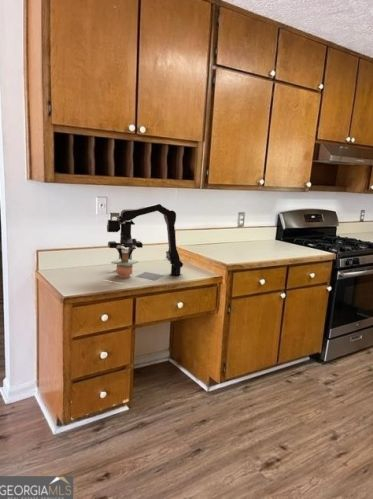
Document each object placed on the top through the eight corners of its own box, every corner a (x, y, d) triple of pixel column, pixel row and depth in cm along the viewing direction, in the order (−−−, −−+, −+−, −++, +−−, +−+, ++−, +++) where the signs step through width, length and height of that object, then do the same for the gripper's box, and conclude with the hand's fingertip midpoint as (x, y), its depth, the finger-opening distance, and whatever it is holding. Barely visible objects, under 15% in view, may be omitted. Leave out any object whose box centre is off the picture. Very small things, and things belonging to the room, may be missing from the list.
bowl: (121, 274, 221) (121, 262, 220) (134, 276, 218) (135, 264, 217) (113, 277, 213) (113, 265, 212) (126, 280, 210) (127, 268, 208)
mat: (145, 272, 228) (145, 271, 228) (164, 276, 223) (164, 275, 223) (134, 277, 216) (134, 276, 216) (154, 281, 211) (155, 280, 211)
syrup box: (125, 268, 235) (126, 245, 232) (131, 270, 232) (132, 247, 229) (118, 269, 231) (118, 246, 228) (124, 271, 227) (125, 248, 224)
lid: (121, 259, 221) (121, 249, 220) (138, 262, 217) (138, 252, 216) (111, 263, 211) (111, 253, 210) (128, 266, 207) (128, 255, 206)
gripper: (112, 234, 199) (111, 263, 203) (146, 234, 207) (144, 262, 210) (108, 231, 209) (107, 258, 213) (140, 231, 217) (139, 257, 220)
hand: (124, 259), depth 213 cm, fingers closed on lid, 4 cm apart
